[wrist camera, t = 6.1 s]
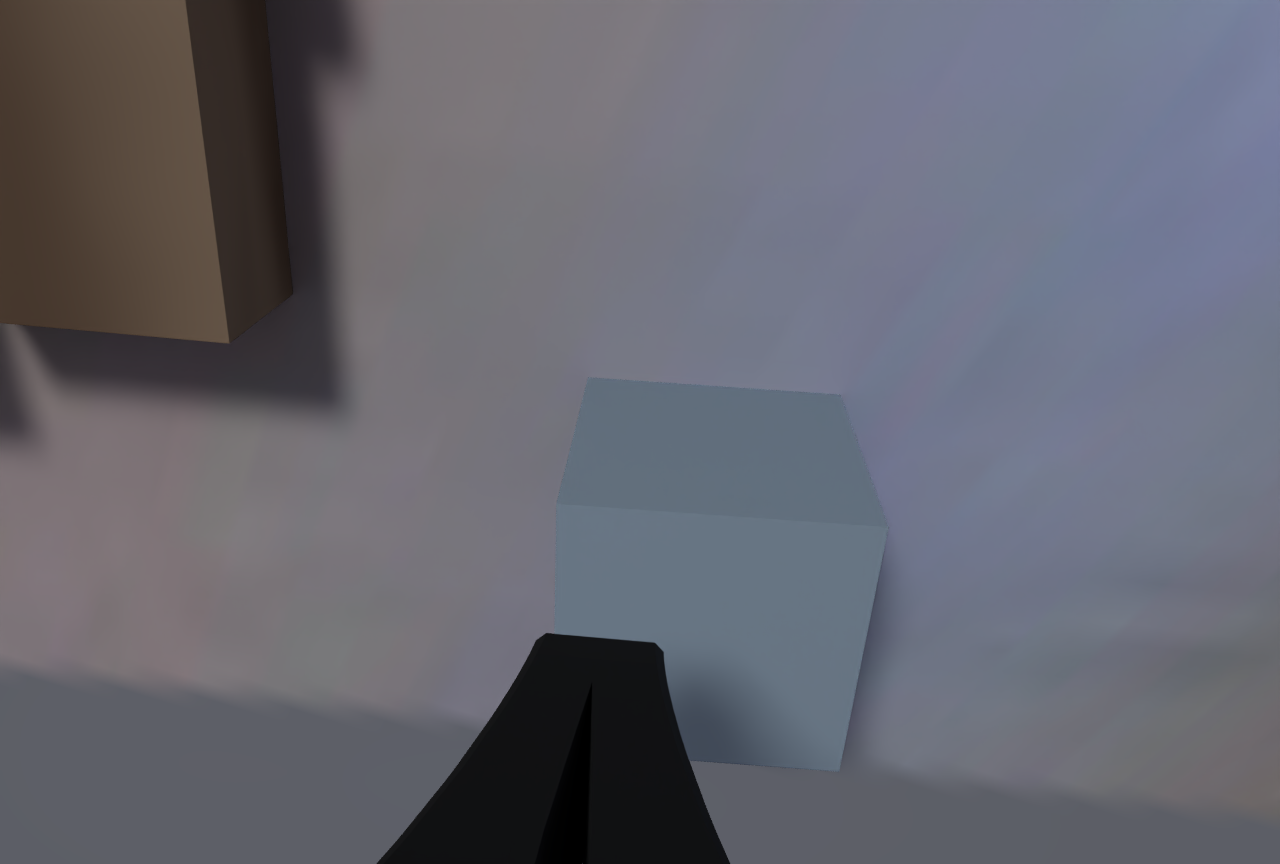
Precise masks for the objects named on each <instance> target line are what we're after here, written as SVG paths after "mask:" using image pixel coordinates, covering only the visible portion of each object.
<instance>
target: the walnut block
mask: <svg viewBox="0 0 1280 864" xmlns="http://www.w3.org/2000/svg"><path fill="white" fill-rule="evenodd" d="M292 294H293V290H292V279H291V269H290V258H289V248H288V237H287V227H286V216H285V205H284V195H283V184H282V174H281V163H280V153H279V142H278V132H277V121H276V111H275V100H274V90H273V79H272V68H271V58H270V47H269V37H268V26H267V16H266V5H265V0H0V323H6V324H17V325H28V326H39V327H51V328H62V329H73V330H84V331H95V332H106V333H117V334H129V335H140V336H151V337H162V338H173V339H184V340H195V341H207V342H218V343H229V344H230V343H231V342H232V341H233V340H235V339H236V338H237V337H239V336H240V335H241V334H242V333H244V332H245V331H246V330H247V329H249V328H250V327H251V326H253V325H254V324H255V323H256V322H258V321H259V320H260V319H262V318H263V317H264V316H265V315H267V314H268V313H269V312H271V311H272V310H273V309H274V308H276V307H277V306H278V305H280V304H281V303H282V302H283V301H285V300H286V299H287V298H289V297H290V296H291V295H292Z"/></svg>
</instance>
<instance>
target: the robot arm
mask: <svg viewBox="0 0 1280 864" xmlns="http://www.w3.org/2000/svg"><path fill="white" fill-rule="evenodd" d="M377 864H730V862H729V860H728V858H727V855H726V853H725V851H724V849H723V846H722V844H721V842H720V839H719V838H718V835H717V833H716V830H715V828H714V825H713V823H712V820H711V818H710V815H709V813H708V810H707V808H706V805H705V803H704V800H703V797H702V794H701V792H700V789H699V786H698V784H697V781H696V778H695V775H694V773H693V770H692V767H691V764H690V761H689V759H688V756H687V753H686V750H685V747H684V743H683V740H682V737H681V734H680V730H679V727H678V723H677V720H676V716H675V713H674V709H673V705H672V701H671V697H670V693H669V688H668V683H667V677H666V671H665V663H664V652H663V651H662V650H661V648H660V647H659V646H658V645H657V644H656V643H655V642H643V641H632V640H620V639H609V638H597V637H586V636H574V635H562V634H551V633H546V634H544V635H543V636H542V637H540V638H539V639H537V640H536V642H535V644H534V646H533V648H532V650H531V652H530V654H529V656H528V658H527V660H526V662H525V663H524V665H523V667H522V669H521V671H520V672H519V674H518V676H517V678H516V679H515V681H514V683H513V684H512V686H511V687H510V689H509V691H508V692H507V694H506V695H505V697H504V698H503V700H502V702H501V703H500V705H499V706H498V708H497V709H496V711H495V712H494V714H493V715H492V717H491V718H490V720H489V721H488V723H487V724H486V726H485V727H484V728H483V730H482V731H481V733H480V734H479V735H478V737H477V738H476V740H475V741H474V742H473V744H472V745H471V747H470V748H469V749H468V751H467V752H466V754H465V755H464V757H463V758H462V759H461V761H460V762H459V764H458V765H457V766H456V768H455V769H454V771H453V772H452V773H451V774H450V776H449V777H448V778H447V780H446V781H445V782H444V783H443V785H442V786H441V787H440V788H439V790H438V791H437V792H436V793H435V794H434V796H433V797H432V798H431V799H430V801H429V802H428V803H427V804H426V806H425V807H424V808H423V809H422V811H421V812H420V813H419V814H418V815H417V817H416V818H415V819H414V821H413V822H412V823H411V824H410V825H409V827H408V828H407V829H406V830H405V831H404V833H403V834H402V835H401V836H400V838H399V839H398V840H397V841H396V842H395V843H394V845H393V846H392V847H391V848H390V849H389V850H388V851H387V853H386V854H385V855H384V856H383V857H382V858H381V859H380V860H379V861H378V863H377Z"/></svg>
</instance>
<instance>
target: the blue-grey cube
mask: <svg viewBox="0 0 1280 864" xmlns="http://www.w3.org/2000/svg"><path fill="white" fill-rule="evenodd" d="M888 528H889V527H888V524H887V521H886V518H885V516H884V513H883V510H882V507H881V505H880V502H879V499H878V497H877V494H876V491H875V488H874V486H873V483H872V480H871V477H870V475H869V472H868V469H867V466H866V464H865V461H864V458H863V455H862V453H861V450H860V447H859V444H858V442H857V439H856V436H855V433H854V431H853V428H852V425H851V423H850V420H849V417H848V414H847V412H846V409H845V406H844V403H843V401H842V398H841V395H838V394H823V393H809V392H794V391H780V390H765V389H750V388H736V387H721V386H706V385H692V384H677V383H662V382H648V381H633V380H619V379H604V378H589V377H588V380H587V384H586V388H585V392H584V396H583V400H582V404H581V408H580V412H579V416H578V420H577V424H576V428H575V432H574V436H573V440H572V444H571V448H570V452H569V456H568V460H567V464H566V468H565V472H564V476H563V480H562V484H561V488H560V492H559V496H558V500H557V504H556V568H555V634H562V635H574V636H586V637H597V638H609V639H620V640H632V641H643V642H655V643H656V644H657V645H658V646H659V647H660V648H661V650H662V651H663V652H664V663H665V671H666V677H667V683H668V688H669V693H670V697H671V701H672V705H673V709H674V713H675V716H676V720H677V723H678V727H679V730H680V734H681V737H682V740H683V743H684V747H685V750H686V753H687V756H688V759H689V760H690V761H704V762H717V763H731V764H744V765H757V766H770V767H783V768H797V769H810V770H823V771H837V772H839V770H840V765H841V760H842V755H843V750H844V745H845V740H846V736H847V731H848V726H849V721H850V716H851V711H852V706H853V701H854V696H855V691H856V686H857V681H858V676H859V671H860V666H861V661H862V657H863V652H864V647H865V642H866V637H867V632H868V627H869V622H870V617H871V612H872V607H873V602H874V597H875V592H876V587H877V583H878V578H879V573H880V568H881V563H882V558H883V553H884V548H885V543H886V538H887V533H888Z"/></svg>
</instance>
